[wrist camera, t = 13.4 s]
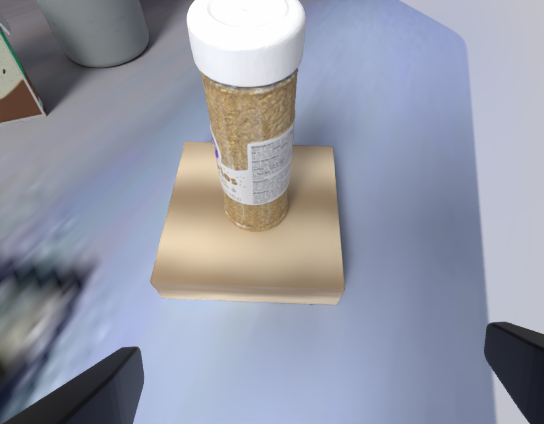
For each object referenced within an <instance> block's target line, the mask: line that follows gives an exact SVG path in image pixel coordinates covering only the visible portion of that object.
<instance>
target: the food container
mask: <svg viewBox="0 0 544 424" xmlns="http://www.w3.org/2000/svg"><path fill="white" fill-rule="evenodd" d="M0 26H1V27H2V28H3V29H4V30H5V31H6V32H7V33H8V34H9V35H10V34H11V29H10V26H9V24H8V22H7V21H6V20H5V19H4V18H3V17H2V15H1V14H0ZM1 27H0V126H3V125H7V124H12V123H17V122H22V121H27V120H31V119H36V118H41V117H46V109H45V107H44V105H43V103H42V102H41V100H40V98H39V96H38V94H37V92H36V91H35V89H34V87H33V85H32V83H31V81H30V80H29V78H28V76H27V74H26V72H25V71H24V69H23V67H22V65H21V63H20V61H19V60H18V58H17V56H16V54H15V52H14V50H13V49H12V47H11V45H10V43H9V41H8V40H7V38H6V36H5V34H4V32H3V30H2V29H1Z"/></svg>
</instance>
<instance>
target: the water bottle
mask: <svg viewBox="0 0 544 424" xmlns="http://www.w3.org/2000/svg"><path fill="white" fill-rule="evenodd" d="M36 2H37V4H38V5H39V7H40V9H41V11H42V13H43V15H44V16H45V18H46V20H47V22H48V24H49V26H50V27H51V29H52V31H53V33H54V35H55V37H56V38H57V40H58V42H59V44H60V46H61V48H62V49H63V51H64V53H65V54H66V55H67V56H68V57H69V58H70V59H71V60H73V61H74V62H76V63H78V64H80V65H83V66H88V67H97V68H101V67H111V66H116V65H120V64H123V63H126V62H128V61H130V60H132V59H134V58H136V57H137V56H138V55H140V54H141V53H142V52H143V51H144V50H145V48H146V47H147V45H148V42H149V30H148V27H147V24H146V21H145V17H144V14H143V11H142V7H141V4H140V1H139V0H36Z"/></svg>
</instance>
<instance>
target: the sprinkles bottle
mask: <svg viewBox="0 0 544 424" xmlns="http://www.w3.org/2000/svg"><path fill="white" fill-rule="evenodd" d="M305 23H306V17H305V12H304V9H303V6H302V5H301V3H300V2H299V1H298V0H195V1H194V2H193V3H192V5H191V6H190V8H189V10H188V14H187V26H188V32H189V38H190V44H191V48H192V53H193V58H194V61H195V64H196V65H197V67H198V68H199V69H200V74H201V76H202V81H203V84H204V89H205V95H206V100H207V106H208V112H209V117H210V128H211V133H212V139H213V144H214V149H215V155H216V160H217V166H218V172H219V178H220V183H221V186H222V188H223V194H224V209H225V214H226V215H227V217H228V219H229V220H230V221H231V222H232V223H233V224H234V225H236V226H237V227H238V228H240V229H244V230H246V231H251V232H260V231H267V230H269V229H271V228H273V227H275V226H276V225H278V224H279V223H280V222H281V221H282V220H283V218H284V217H285V216H286V212H287V209H288V199H287V189H288V188H287V187H288V184H289V180H290V170H291V159H292V147H293V136H294V124H295V110H294V108H295V98H296V83H297V72H298V66H299V65H300V63H301V60H302V57H303V50H304V39H305Z"/></svg>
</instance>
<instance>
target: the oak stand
mask: <svg viewBox="0 0 544 424" xmlns="http://www.w3.org/2000/svg"><path fill="white" fill-rule="evenodd" d="M287 188H288V189H287V199H288V209H287V212H286V216H285V217H284V218H283V220H282V221H281V222H280V223H279V224H278V225H276V226H275V227H273V228H271V229H269V230H267V231H260V232H251V231H246V230H244V229H240V228H238V227H237V226H236V225H234V224H233V223H232V222H231V221H230V220H229V219H228V217H227V215H226V214H225V209H224V194H223V188H222V186H221V183H220V178H219V172H218V166H217V160H216V155H215V149H214V144H213V143H208V142H185V144H184V148H183V152H182V156H181V160H180V164H179V168H178V172H177V176H176V180H175V184H174V188H173V192H172V196H171V200H170V204H169V208H168V212H167V216H166V220H165V224H164V228H163V232H162V236H161V240H160V244H159V248H158V252H157V256H156V260H155V264H154V268H153V272H152V276H151V280H150V283H151V284H152V285H153V287H154V288H155V289H156V290H157V291H158V293H159V294H160V295H161V296H162V298H172V299H197V300H223V301H248V302H273V303H299V304H324V305H337V303H338V301H339V300H340V298H341V296H342V294H343V292H344V290H345V286H344V274H343V263H342V251H341V239H340V227H339V215H338V203H337V191H336V179H335V167H334V155H333V146H303V145H293V147H292V159H291V170H290V180H289V184H288V187H287Z"/></svg>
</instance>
